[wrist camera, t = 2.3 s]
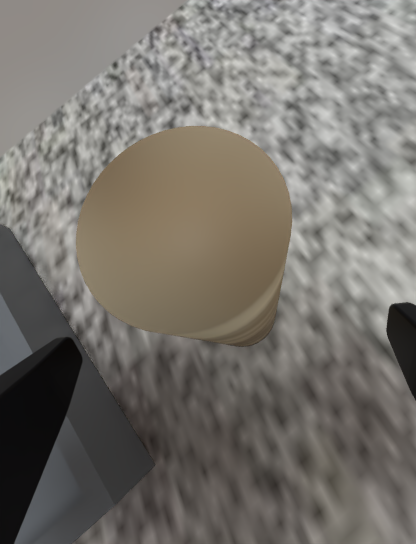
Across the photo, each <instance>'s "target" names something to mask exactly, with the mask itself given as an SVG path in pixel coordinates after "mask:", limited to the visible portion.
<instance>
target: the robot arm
mask: <svg viewBox="0 0 416 544" xmlns="http://www.w3.org/2000/svg"><path fill="white" fill-rule="evenodd" d="M386 331H387V336H388V339H389V341H390V344H391V346H392V349H393V351H394V353H395V356H396V358H397V360H398V363H399V365H400V367H401V370H402V372H403V374H404V377H405V379H406V381H407V384H408V386H409V388H410V390H411V393H412V395H413V396H414V398H415V400H416V305H414V304H412V303H408V302H406V303H396V304H392V305H391V306H390V308H389V313H388V320H387V328H386ZM82 362H83V358H82V354H81V353H80V351H79V349H78V347H77V345H76V344H75V342H74V340H73V339H72V338H71V337H68V336H67V337H58V338H55V339H54V340H52V341H51V342H49V343H48V344H46V345H45V346H43V347H42V348H40V349H39V350H37V351H36V352H34V353H33V354H31V355H30V356H28V357H27V358H25V359H24V360H22V361H21V362H19V363H18V364H16V365H15V366H13V367H12V368H10V369H9V370H7V371H6V372H4V373H3V374H1V375H0V544H14V543H15V540H16V538H17V536H18V533H19V531H20V528H21V526H22V523H23V521H24V518H25V516H26V513H27V511H28V508H29V506H30V503H31V501H32V499H33V496H34V494H35V491H36V489H37V486H38V484H39V481H40V479H41V476H42V474H43V471H44V469H45V466H46V464H47V462H48V459H49V457H50V454H51V452H52V449H53V447H54V444H55V442H56V439H57V437H58V434H59V432H60V430H61V427H62V425H63V422H64V420H65V417H66V414H67V412H68V409H69V406H70V403H71V399H72V396H73V393H74V389H75V386H76V383H77V379H78V376H79V373H80V369H81V366H82Z"/></svg>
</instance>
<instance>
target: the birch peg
mask: <svg viewBox="0 0 416 544" xmlns="http://www.w3.org/2000/svg"><path fill="white" fill-rule="evenodd" d="M291 227H292V207H291V201H290V196H289V192H288V189H287V186H286V184H285V181H284V179H283V177H282V175H281V173H280V171H279V169H278V168H277V166H276V165H275V164H274V162H273V161H272V160H271V158H270V157H269V156H268V155H267V154H266V153H265V152H264V151H263V150H262V149H261V148H259V147H258V146H257V145H255V144H254V143H252V142H251V141H250V140H248V139H246V138H244V137H242V136H240V135H238V134H235V133H233V132H230V131H227V130H223V129H219V128H215V127H206V126H186V127H178V128H173V129H169V130H165V131H162V132H159V133H156V134H153V135H151V136H148V137H146V138H144V139H142V140H140V141H138V142H137V143H135V144H133V145H132V146H130V147H129V148H127V149H126V150H125V151H123V152H122V153H121V154H119V155H118V156H117V157H116V158H115V159H114V160H113V161H112V162H111V163H110V164H109V165H108V166H107V167H106V168H105V169H104V170H103V171H102V173H101V174H100V175H99V177H98V178H97V179H96V181H95V182H94V184H93V185H92V187H91V189H90V191H89V193H88V194H87V197H86V199H85V201H84V204H83V206H82V209H81V213H80V216H79V220H78V226H77V233H76V249H77V258H78V262H79V267H80V270H81V273H82V276H83V278H84V281H85V283H86V285H87V286H88V288H89V290H90V292H91V293H92V295H93V296H94V297H95V298H96V300H97V301H98V302H99V303H100V304H101V305H102V306H103V307H104V308H105V309H106V310H107V311H108V312H109V313H111V314H112V315H113V316H115V317H116V318H118V319H119V320H121V321H123V322H125V323H127V324H129V325H131V326H133V327H136V328H139V329H142V330H145V331H150V332H156V333H162V334H168V335H174V336H180V337H186V338H192V339H198V340H204V341H210V342H216V343H222V344H228V345H234V346H242V347H244V346H250V345H254V344H256V343H258V342H260V341H261V340H263V339H264V338H265V337H266V336H267V335H268V334H269V332H270V331H271V329H272V327H273V324H274V321H275V316H276V311H277V305H278V300H279V295H280V289H281V284H282V279H283V273H284V268H285V263H286V257H287V252H288V247H289V241H290V236H291Z"/></svg>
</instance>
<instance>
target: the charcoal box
mask: <svg viewBox="0 0 416 544" xmlns="http://www.w3.org/2000/svg"><path fill="white" fill-rule="evenodd" d="M67 336H68V337H71V338H72V339H73V340H74V342H75V344H76V345H77V347H78V349H79V351H80V353H81V354H82V358H83V362H82V366H81V369H80V373H79V376H78V379H77V383H76V386H75V389H74V393H73V396H72V399H71V403H70V406H69V409H68V412H67V414H66V417H65V420H64V422H63V425H62V427H61V430H60V432H59V434H58V437H57V439H56V442H55V444H54V447H53V449H52V452H51V454H50V457H49V459H48V462H47V464H46V466H45V469H44V471H43V474H42V476H41V479H40V481H39V484H38V486H37V489H36V491H35V494H34V496H33V499H32V501H31V503H30V506H29V508H28V511H27V513H26V516H25V518H24V521H23V523H22V526H21V528H20V531H19V533H18V536H17V538H16V540H15V543H14V544H72V543H73V542H74V541H75V540H76V539H78V538H79V537H80V536H81V535H82V534H83V533H84V532H85V531H87V530H88V529H89V528H90V527H91V526H92V525H93V524H94V523H96V522H97V521H98V520H99V519H100V518H101V517H102V516H103V515H105V514H106V513H107V512H108V511H109V510H110V509H111V508H112V507H114V506H115V505H116V504H117V503H118V502H119V501H120V500H121V499H122V498H123V497H124V496H125V495H126V494H127V493H128V492H129V491H130V490H131V489H132V488H133V487H134V486H135V485H136V484H137V483H138V482H139V481H140V480H141V479H142V478H143V477H144V476H145V475H146V474H147V473H148V472H149V471H150V470H151V469H152V468H153V467H154V466H155V464H154V462H153V460H152V459H151V457H150V455H149V454H148V452H147V451H146V449H145V447H144V446H143V444H142V442H141V441H140V439H139V438H138V436H137V434H136V433H135V431H134V429H133V428H132V426H131V425H130V423H129V421H128V420H127V418H126V416H125V415H124V413H123V412H122V410H121V408H120V407H119V405H118V404H117V402H116V400H115V399H114V397H113V395H112V394H111V392H110V391H109V389H108V387H107V386H106V384H105V382H104V381H103V379H102V378H101V376H100V374H99V373H98V371H97V369H96V368H95V366H94V365H93V363H92V361H91V360H90V358H89V356H88V355H87V353H86V352H85V350H84V348H83V347H82V345H81V344H80V342H79V340H78V339H77V337H76V335H75V334H74V332H73V331H72V329H71V327H70V326H69V324H68V322H67V321H66V319H65V318H64V316H63V314H62V313H61V311H60V309H59V308H58V306H57V305H56V303H55V301H54V300H53V298H52V296H51V295H50V293H49V292H48V290H47V288H46V287H45V285H44V284H43V282H42V280H41V279H40V277H39V275H38V274H37V272H36V271H35V269H34V267H33V266H32V264H31V262H30V261H29V259H28V258H27V256H26V254H25V253H24V251H23V249H22V248H21V246H20V245H19V243H18V241H17V240H16V238H15V236H14V235H13V233H12V232H11V230H10V229H9V228H7V227H5V226H3V225H1V224H0V375H1V374H3V373H4V372H6V371H7V370H9V369H10V368H12V367H13V366H15V365H16V364H18V363H19V362H21V361H22V360H24V359H25V358H27V357H28V356H30V355H31V354H33V353H34V352H36V351H37V350H39V349H40V348H42V347H43V346H45V345H46V344H48V343H49V342H51V341H52V340H54V339H55V338H58V337H67Z"/></svg>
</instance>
